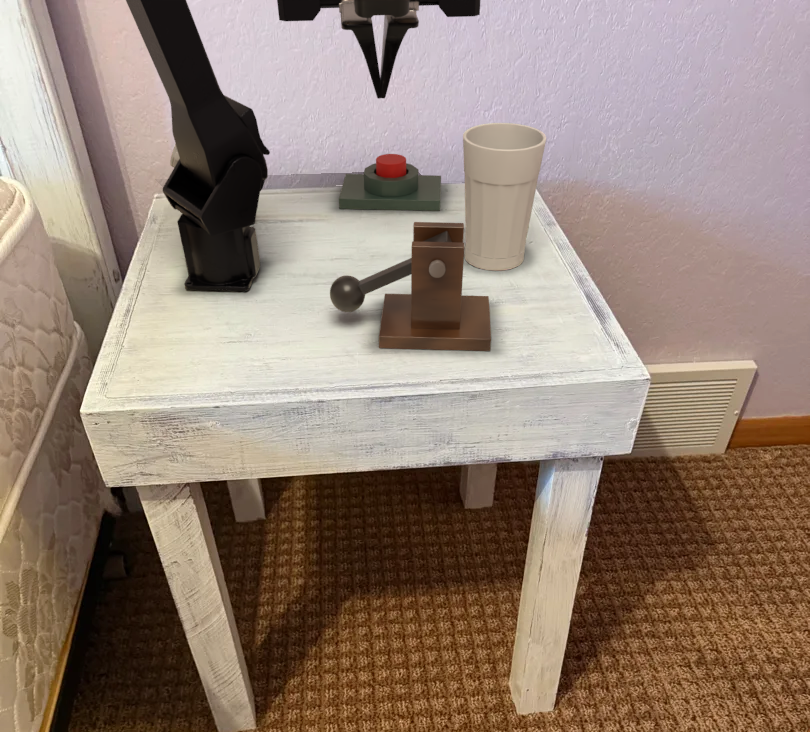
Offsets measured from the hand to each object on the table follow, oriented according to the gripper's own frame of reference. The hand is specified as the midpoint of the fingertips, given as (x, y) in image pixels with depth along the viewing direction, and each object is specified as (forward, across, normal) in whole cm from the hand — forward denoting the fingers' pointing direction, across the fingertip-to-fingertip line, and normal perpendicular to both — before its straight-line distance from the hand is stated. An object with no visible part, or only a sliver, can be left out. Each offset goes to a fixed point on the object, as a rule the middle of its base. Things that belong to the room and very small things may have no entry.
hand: (381, 97), depth 78 cm
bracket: (+13, +4, -23) cm, 27 cm away
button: (+11, +1, +9) cm, 14 cm away
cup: (+14, +11, -9) cm, 20 cm away
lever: (+10, 0, -22) cm, 24 cm away
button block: (+13, +1, +9) cm, 16 cm away
